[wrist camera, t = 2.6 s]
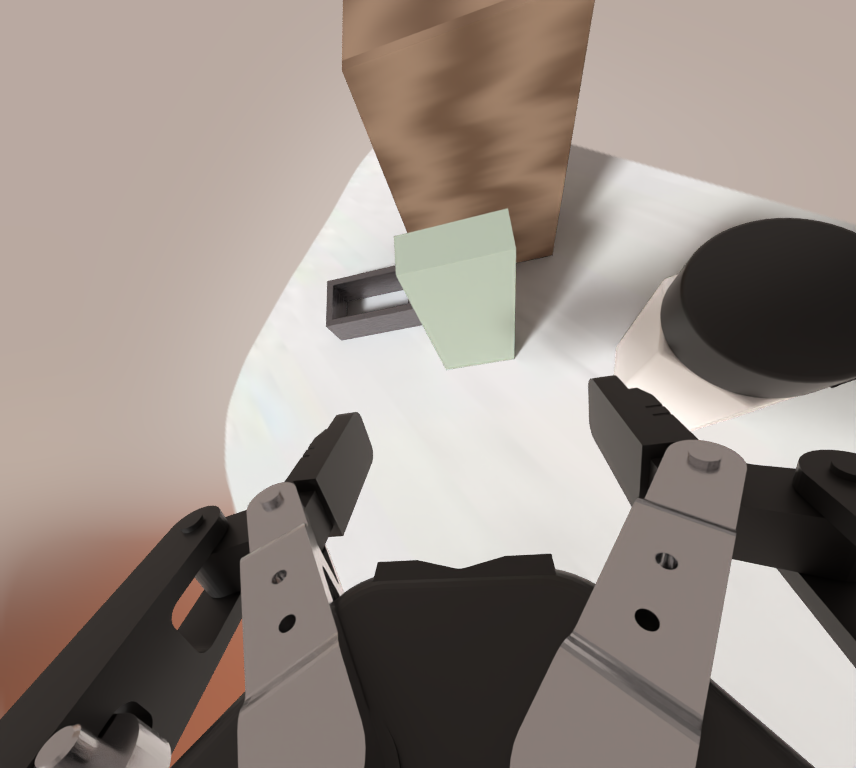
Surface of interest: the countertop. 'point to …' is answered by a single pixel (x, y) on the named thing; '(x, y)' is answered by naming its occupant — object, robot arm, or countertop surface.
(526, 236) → the cabinet
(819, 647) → the countertop surface
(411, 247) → the sage green block
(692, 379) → the jar
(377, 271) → the dark grey rectangular frame
